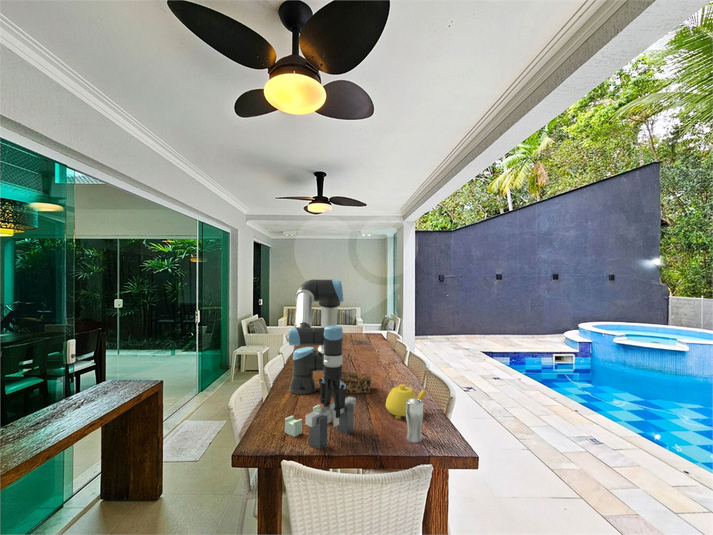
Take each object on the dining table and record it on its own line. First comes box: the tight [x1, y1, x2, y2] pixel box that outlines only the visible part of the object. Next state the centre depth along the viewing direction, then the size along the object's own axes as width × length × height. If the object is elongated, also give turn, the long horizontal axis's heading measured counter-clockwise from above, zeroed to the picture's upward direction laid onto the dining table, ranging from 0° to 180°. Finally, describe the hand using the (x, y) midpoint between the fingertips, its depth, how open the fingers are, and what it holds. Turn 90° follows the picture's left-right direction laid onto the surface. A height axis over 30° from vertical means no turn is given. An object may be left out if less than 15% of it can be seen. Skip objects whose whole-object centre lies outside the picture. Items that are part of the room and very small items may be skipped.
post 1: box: [308, 416, 328, 450], centre depth 133 cm, size 6×4×11 cm
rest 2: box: [312, 404, 322, 412], centre depth 156 cm, size 6×4×6 cm, turn 52°
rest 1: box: [284, 415, 303, 438], centre depth 143 cm, size 6×4×6 cm, turn 52°
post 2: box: [336, 404, 355, 435], centre depth 146 cm, size 6×4×11 cm
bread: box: [341, 371, 372, 394], centre depth 197 cm, size 19×11×10 cm, turn 89°
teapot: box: [385, 384, 428, 420], centre depth 164 cm, size 20×16×14 cm
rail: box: [304, 396, 357, 427], centre depth 140 cm, size 4×26×4 cm, turn 142°
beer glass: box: [405, 398, 424, 444], centre depth 139 cm, size 7×7×15 cm
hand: (332, 423), depth 140 cm, fingers closed on rail, 3 cm apart
